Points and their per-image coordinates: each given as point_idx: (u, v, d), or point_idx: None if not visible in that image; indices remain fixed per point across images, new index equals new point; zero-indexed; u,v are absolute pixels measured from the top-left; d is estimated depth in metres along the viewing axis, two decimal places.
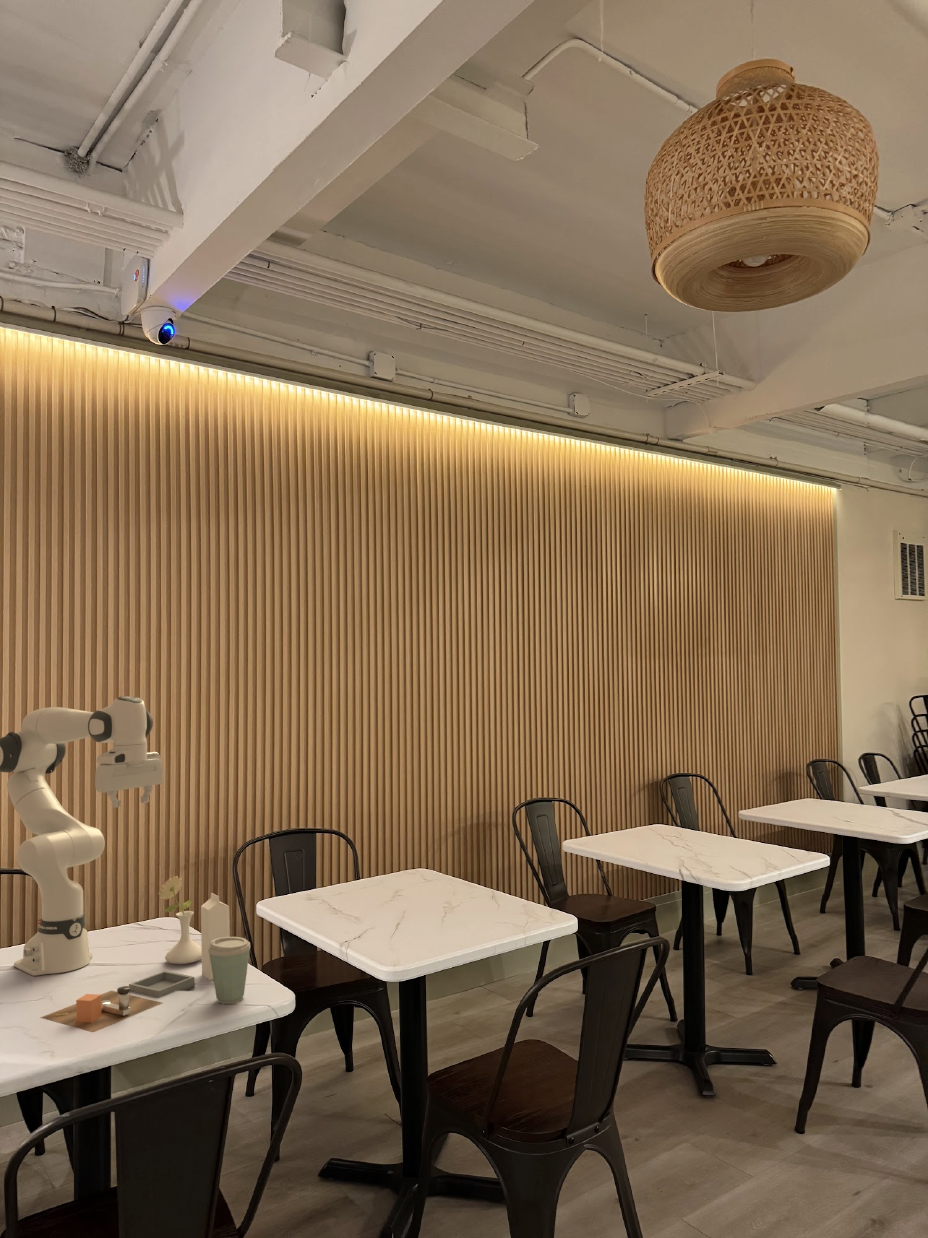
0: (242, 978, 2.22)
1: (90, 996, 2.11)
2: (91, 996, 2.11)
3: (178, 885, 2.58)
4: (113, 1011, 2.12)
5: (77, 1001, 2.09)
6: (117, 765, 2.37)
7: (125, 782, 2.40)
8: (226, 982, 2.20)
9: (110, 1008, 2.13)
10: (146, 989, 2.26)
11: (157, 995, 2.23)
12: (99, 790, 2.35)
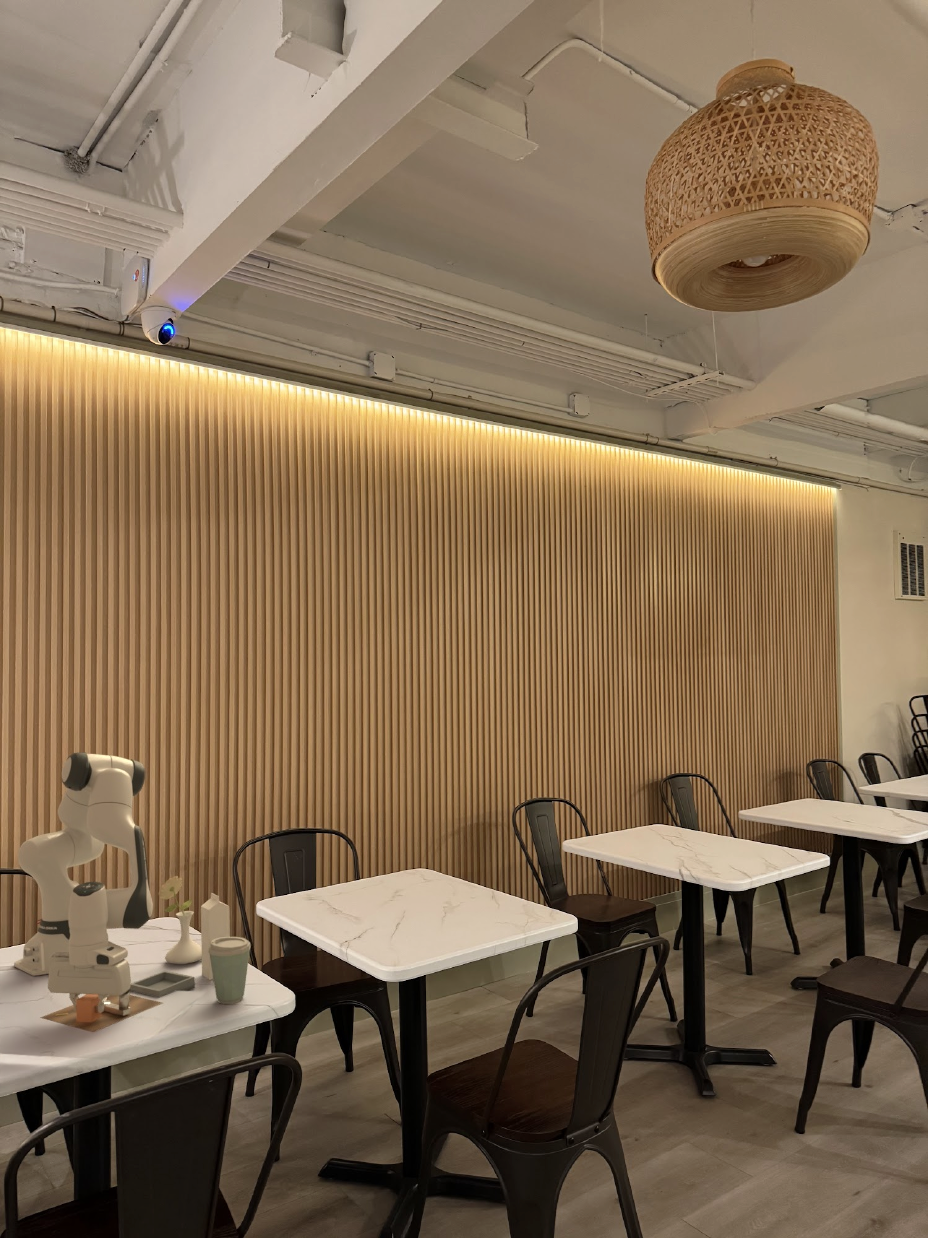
0: (242, 978, 2.22)
1: (90, 996, 2.11)
2: (91, 996, 2.11)
3: (178, 885, 2.58)
4: (113, 1011, 2.12)
5: (77, 1001, 2.09)
6: None
7: None
8: (226, 982, 2.20)
9: (110, 1008, 2.13)
10: (146, 989, 2.26)
11: (157, 995, 2.23)
12: (125, 991, 2.09)
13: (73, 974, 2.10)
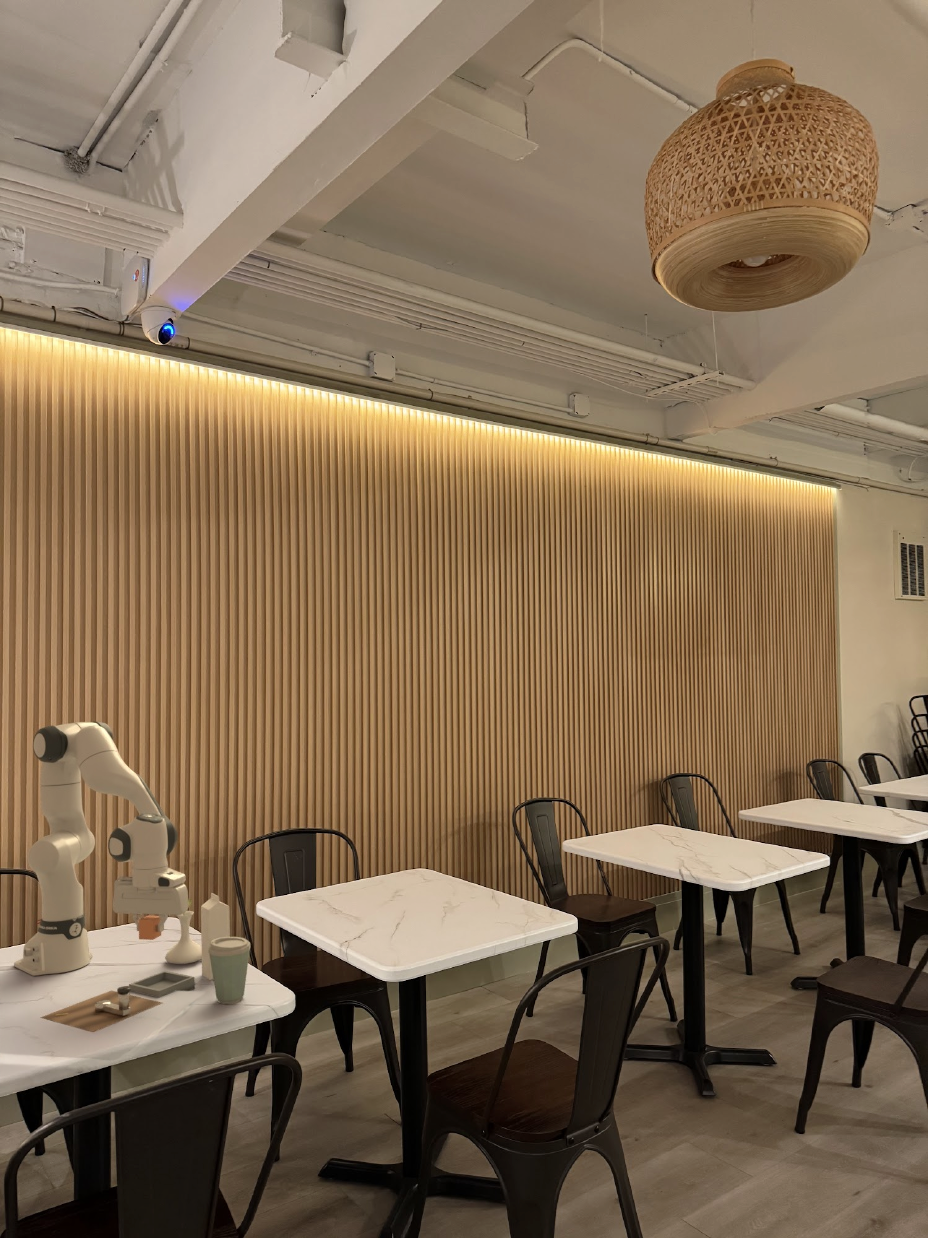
0: (242, 978, 2.22)
1: (151, 916, 2.30)
2: (152, 917, 2.30)
3: None
4: (113, 1011, 2.12)
5: (140, 921, 2.27)
6: None
7: None
8: (226, 982, 2.20)
9: (110, 1008, 2.13)
10: (146, 989, 2.26)
11: (157, 995, 2.23)
12: (184, 911, 2.27)
13: (135, 895, 2.29)
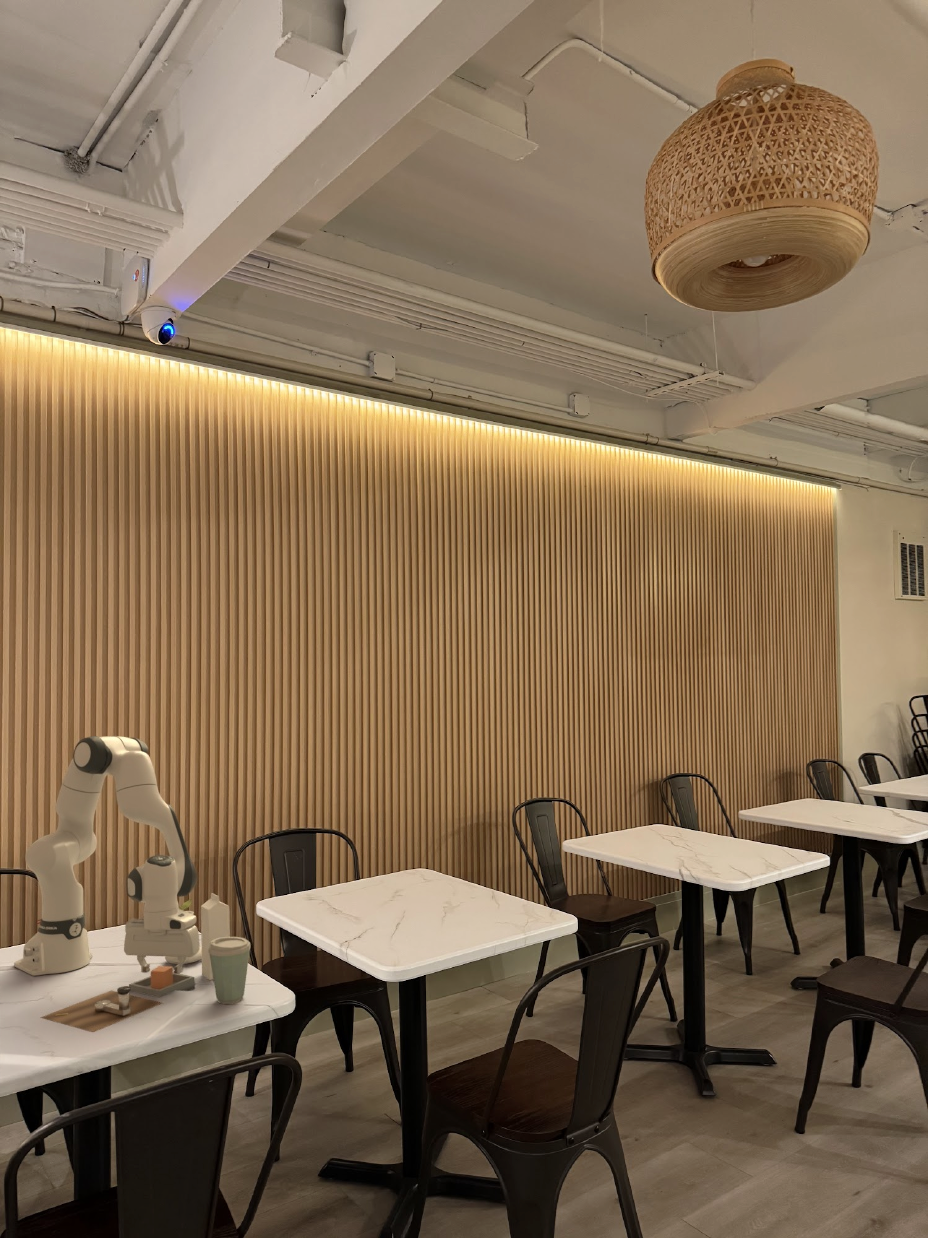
0: (242, 978, 2.22)
1: (162, 967, 2.32)
2: (164, 968, 2.32)
3: None
4: (113, 1011, 2.12)
5: (151, 972, 2.30)
6: None
7: None
8: (226, 982, 2.20)
9: (110, 1008, 2.13)
10: (146, 989, 2.26)
11: (157, 995, 2.23)
12: (195, 953, 2.30)
13: (147, 938, 2.31)
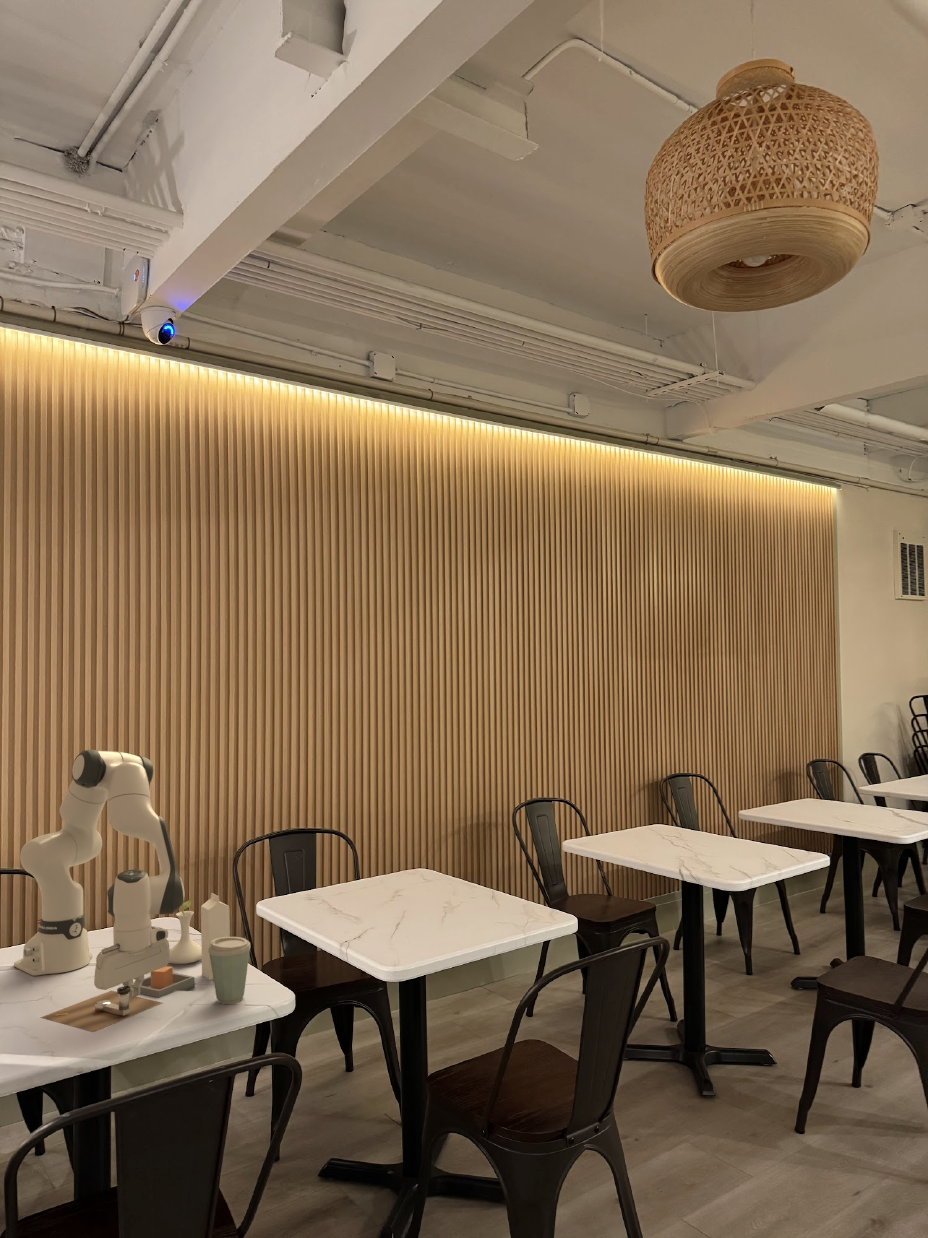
0: (242, 978, 2.22)
1: None
2: (164, 968, 2.32)
3: None
4: (113, 1011, 2.12)
5: (151, 972, 2.30)
6: None
7: None
8: (226, 982, 2.20)
9: (110, 1008, 2.13)
10: (146, 989, 2.26)
11: (157, 995, 2.23)
12: None
13: (126, 962, 2.12)
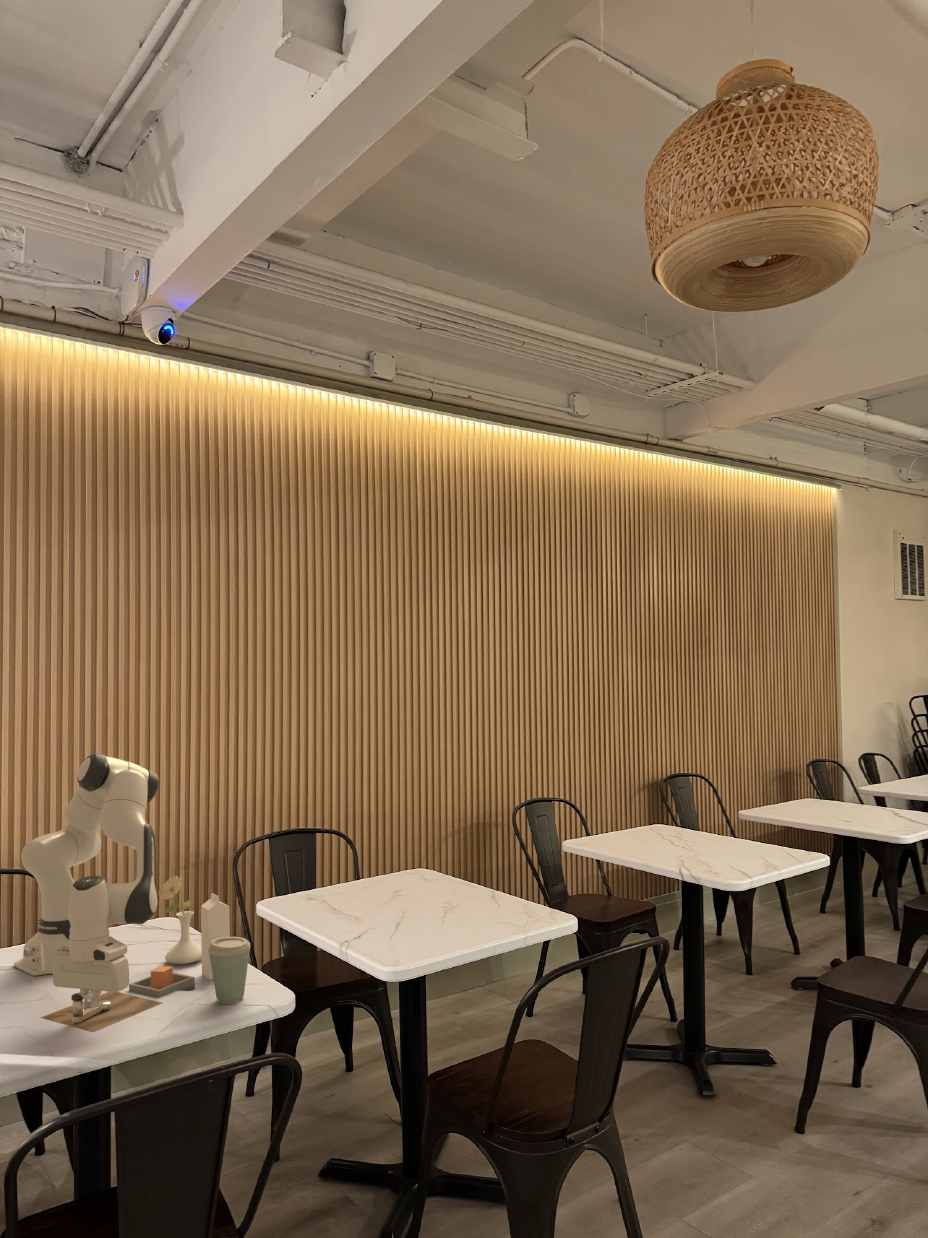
0: (242, 978, 2.22)
1: (162, 967, 2.32)
2: (164, 968, 2.32)
3: (178, 885, 2.58)
4: None
5: (151, 972, 2.30)
6: None
7: None
8: (226, 982, 2.20)
9: None
10: (146, 989, 2.26)
11: (157, 995, 2.23)
12: (123, 988, 2.05)
13: (74, 968, 2.08)
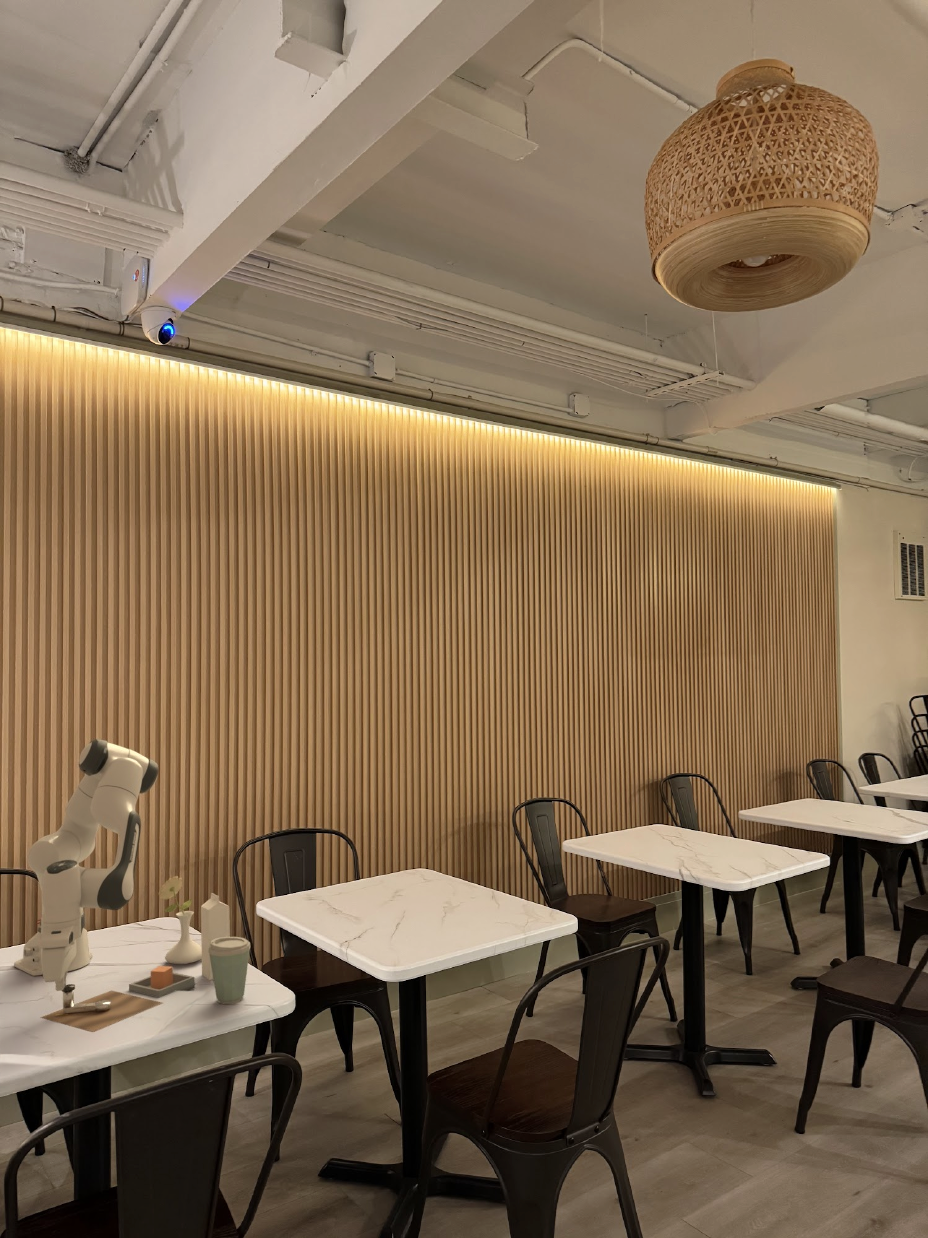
0: (242, 978, 2.22)
1: (162, 967, 2.32)
2: (164, 968, 2.32)
3: (178, 885, 2.58)
4: None
5: (151, 972, 2.30)
6: (67, 946, 2.07)
7: (66, 964, 2.09)
8: (226, 982, 2.20)
9: None
10: (146, 989, 2.26)
11: (157, 995, 2.23)
12: (51, 980, 2.02)
13: None
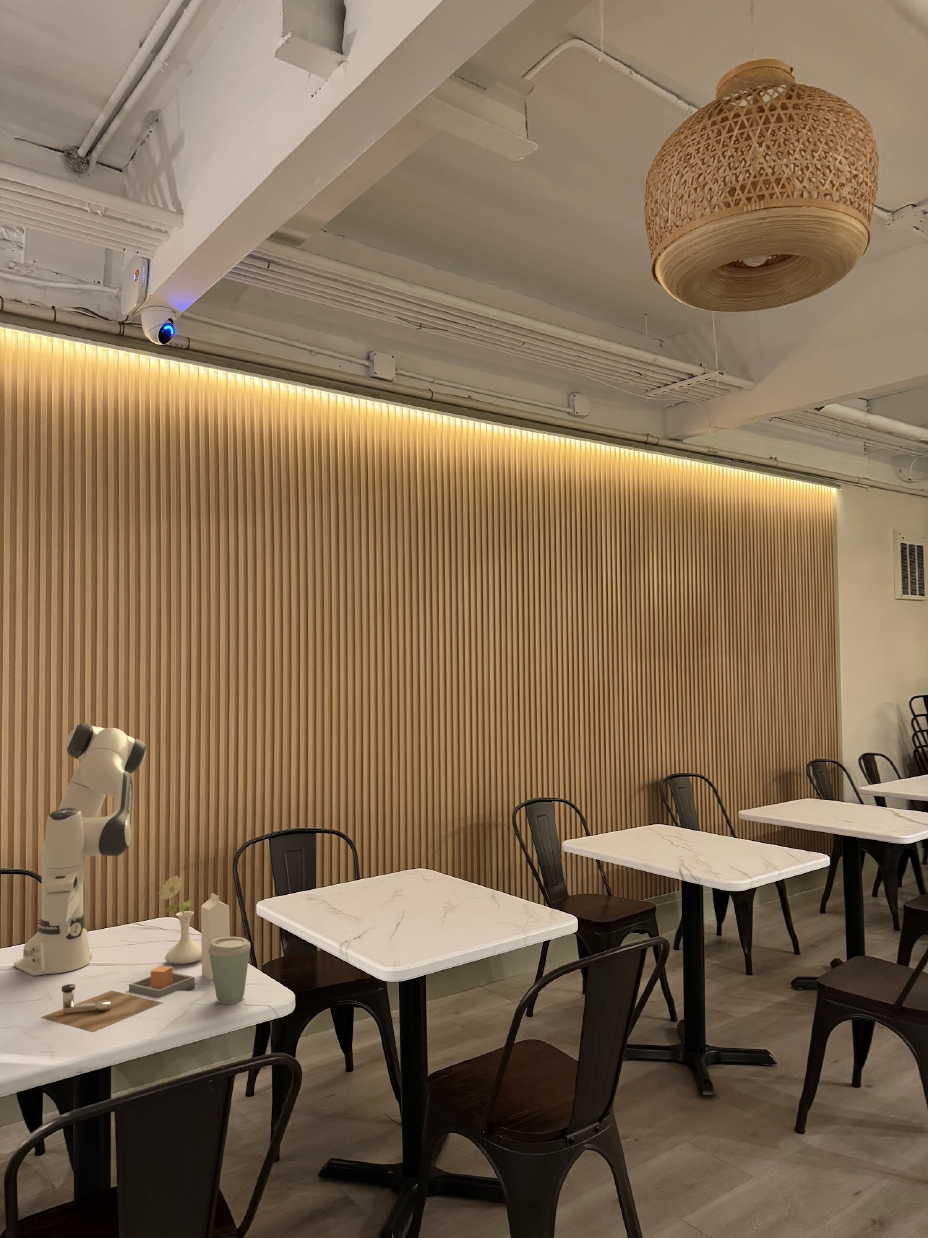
0: (242, 978, 2.22)
1: (162, 967, 2.32)
2: (164, 968, 2.32)
3: (178, 885, 2.58)
4: None
5: (151, 972, 2.30)
6: (72, 891, 2.08)
7: (70, 909, 2.10)
8: (226, 982, 2.20)
9: None
10: (146, 989, 2.26)
11: (157, 995, 2.23)
12: (56, 923, 2.03)
13: None
